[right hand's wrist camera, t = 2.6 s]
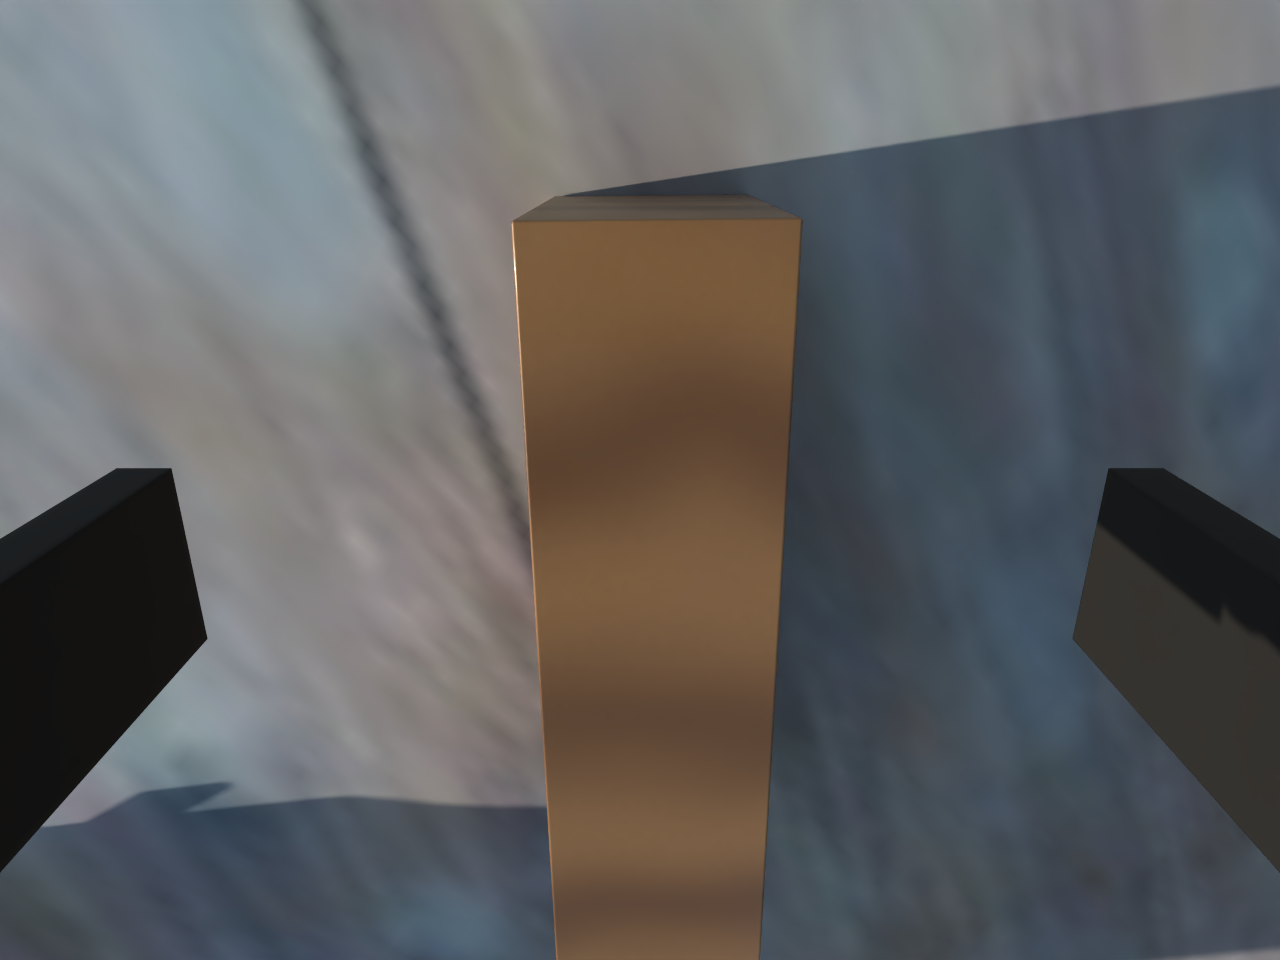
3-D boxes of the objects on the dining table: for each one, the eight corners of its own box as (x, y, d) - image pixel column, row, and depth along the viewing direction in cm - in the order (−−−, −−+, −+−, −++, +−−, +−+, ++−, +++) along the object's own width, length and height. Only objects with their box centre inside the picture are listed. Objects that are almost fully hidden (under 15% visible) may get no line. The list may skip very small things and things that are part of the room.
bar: (553, 196, 24) (510, 220, 16) (748, 194, 24) (803, 218, 16) (580, 809, 32) (560, 1030, 24) (727, 808, 32) (756, 1029, 24)
